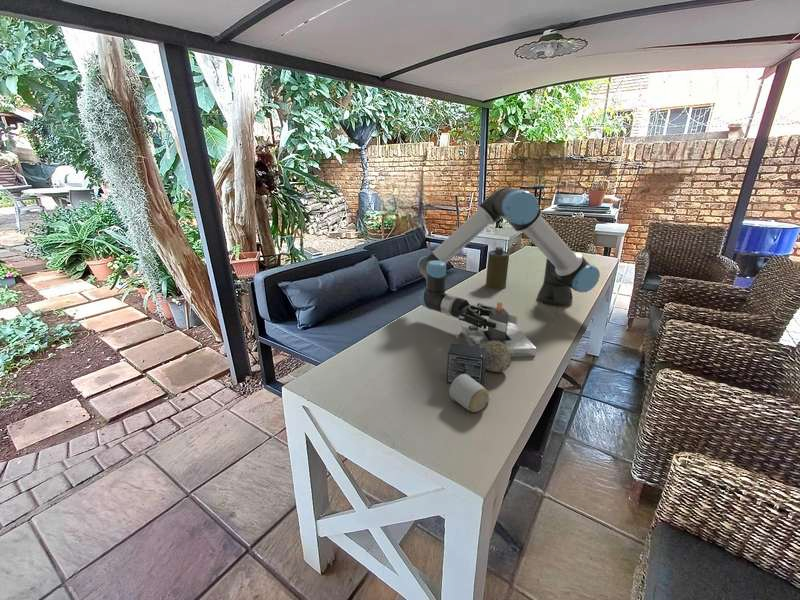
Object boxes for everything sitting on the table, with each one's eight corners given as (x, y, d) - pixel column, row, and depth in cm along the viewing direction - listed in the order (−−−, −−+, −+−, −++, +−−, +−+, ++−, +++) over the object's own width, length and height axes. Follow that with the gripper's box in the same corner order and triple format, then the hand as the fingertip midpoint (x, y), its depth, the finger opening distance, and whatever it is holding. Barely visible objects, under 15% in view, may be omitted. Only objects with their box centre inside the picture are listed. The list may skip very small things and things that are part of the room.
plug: (500, 338, 134) (504, 300, 128) (505, 345, 129) (509, 305, 124) (486, 339, 133) (490, 301, 128) (491, 346, 129) (495, 306, 123)
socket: (512, 329, 141) (513, 321, 140) (535, 355, 123) (536, 346, 121) (461, 331, 140) (462, 323, 138) (476, 358, 121) (477, 349, 120)
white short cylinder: (469, 418, 93) (472, 393, 91) (447, 402, 100) (449, 378, 97) (497, 404, 99) (500, 379, 97) (474, 389, 105) (477, 366, 103)
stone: (483, 360, 120) (485, 333, 116) (511, 371, 114) (515, 342, 111) (473, 368, 115) (476, 340, 112) (502, 379, 110) (506, 350, 106)
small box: (484, 378, 111) (487, 347, 107) (482, 390, 105) (485, 358, 101) (450, 371, 114) (451, 341, 110) (445, 383, 108) (447, 352, 104)
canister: (508, 289, 184) (512, 250, 177) (487, 289, 185) (491, 250, 177) (503, 282, 195) (507, 245, 187) (483, 282, 195) (486, 245, 188)
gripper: (469, 308, 148) (523, 324, 133) (438, 324, 134) (495, 344, 119) (470, 290, 145) (526, 305, 131) (439, 305, 131) (497, 323, 116)
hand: (511, 324), depth 125 cm, fingers open, 8 cm apart
